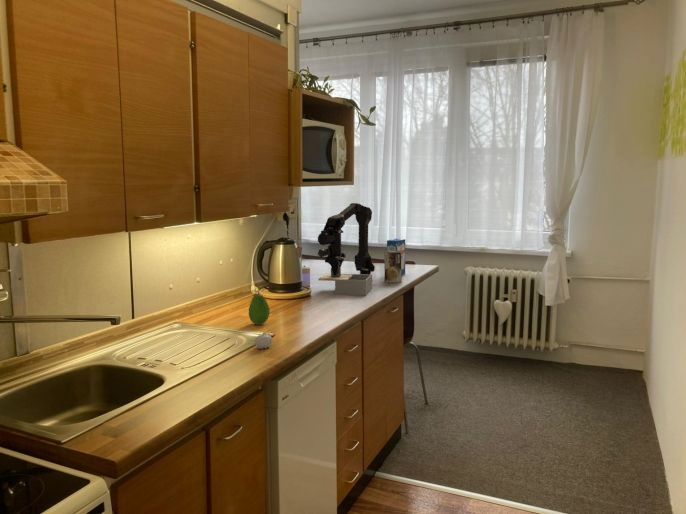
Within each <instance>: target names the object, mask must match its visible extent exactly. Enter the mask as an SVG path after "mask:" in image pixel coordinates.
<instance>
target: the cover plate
mask: <svg viewBox="0 0 686 514" xmlns="http://www.w3.org/2000/svg"><path fill="white" fill-rule="evenodd" d="M341 269H342V266H341V267H338V271H337V274H336V275H333V271H332V268H330V273H325V274H323V275H322V276H320V277H319V278H317V279H318V281H325V282H326V281H330V282H335V279H341V280H349V279H350V278H351V277H352V276H353V274H354V273H342V272H341V271H342V270H341Z"/></svg>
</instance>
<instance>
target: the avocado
mask: <svg viewBox="0 0 686 514" xmlns="http://www.w3.org/2000/svg"><path fill="white" fill-rule="evenodd" d="M248 316H249V319H250V321H251V322H252V323H253V324H254V325H258V326H260V325H263V324H264V323H266V321H268V319H269V317H270V306H269V304H268V302H267V300H266V298H265V296H263V295H262V294H260V293H256V294H254V295H253V296H252V298H251V302H250V304H249V307H248Z"/></svg>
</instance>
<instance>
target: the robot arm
mask: <svg viewBox="0 0 686 514" xmlns="http://www.w3.org/2000/svg"><path fill="white" fill-rule="evenodd" d="M354 215H355V220H356V222H357V223H358V252H357V254H356V255H354V261H353V262H354V266H355V270H356V272H358V271H359V274H368V275H372V273H373V272H375V268H376V267H375V265H374V263H373V262H372V256H371V254H370V253H369V224H370V222H371V220H372V218H373V217H372V216H373V210H372V209H371V208H370V207H368V206H364V205H362V204H360V203H359V202H351V203H350V204H349V205H348V206H347V207H345V208H344V209H343V210H341V212H339V213H338V214H334V215H332V216H329V217H328V218H327V220H326V222H325V225H324V228H323V229H322V230H321V231H320V233H319V234H318V236H317V241H318V243H319V245H321V246H326V245H328V246H327V247H326V248H324V249H323V248H321V249H318V252H317V256H318V257H319V258H320V259H322V258H323V257H324V263H327V264H328V265H330V267H331V268H332V271H333V275H336V274H337V271H338V267H341V268H342V265H343V263H344V260H345V258H346V255H347V253H346V252H345V251H342V247H343V244H342V234H344V231H343V230H342V228H344V226H345V224H346V221H347V220H349V219H350V218H351V217H353V216H354ZM331 268H330V269H331Z"/></svg>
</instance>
